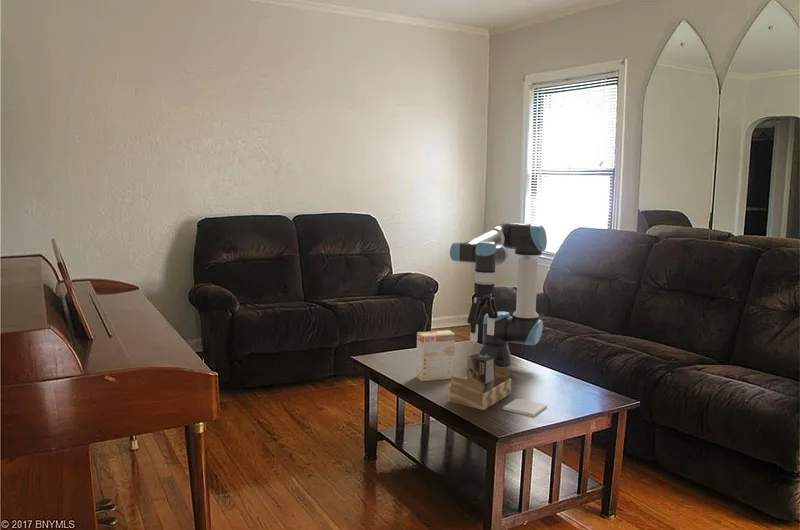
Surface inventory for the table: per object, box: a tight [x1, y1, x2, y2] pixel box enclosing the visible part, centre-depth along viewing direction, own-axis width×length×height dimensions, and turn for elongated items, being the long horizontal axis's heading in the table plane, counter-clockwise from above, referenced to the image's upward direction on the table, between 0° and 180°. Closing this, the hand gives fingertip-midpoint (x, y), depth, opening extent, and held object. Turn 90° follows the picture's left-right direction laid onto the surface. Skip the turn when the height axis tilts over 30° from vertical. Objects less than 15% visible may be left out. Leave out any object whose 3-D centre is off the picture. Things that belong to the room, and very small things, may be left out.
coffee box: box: [466, 353, 495, 393], centre depth 249 cm, size 9×6×16 cm
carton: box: [447, 366, 512, 411], centre depth 250 cm, size 23×15×10 cm, turn 145°
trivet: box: [502, 398, 548, 418], centre depth 239 cm, size 12×12×1 cm
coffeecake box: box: [415, 329, 456, 382], centre depth 273 cm, size 15×7×20 cm, turn 108°
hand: (482, 338), depth 247 cm, fingers open, 13 cm apart
